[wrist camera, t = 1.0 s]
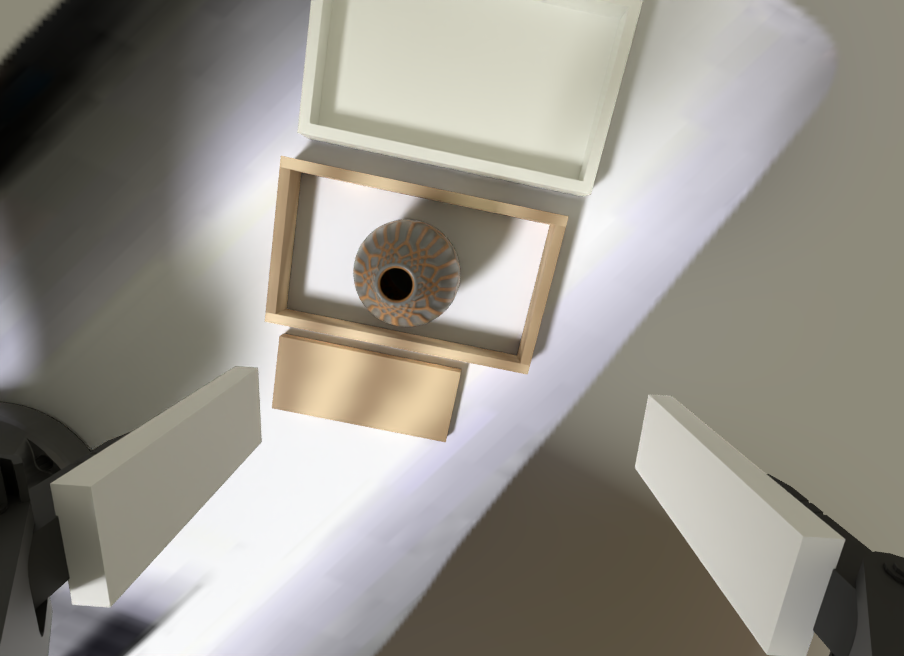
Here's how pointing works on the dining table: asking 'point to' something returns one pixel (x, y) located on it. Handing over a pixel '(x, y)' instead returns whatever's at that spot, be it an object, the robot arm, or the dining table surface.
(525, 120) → the off-white tray
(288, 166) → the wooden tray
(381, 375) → the lid
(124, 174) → the dining table surface
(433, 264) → the vase
